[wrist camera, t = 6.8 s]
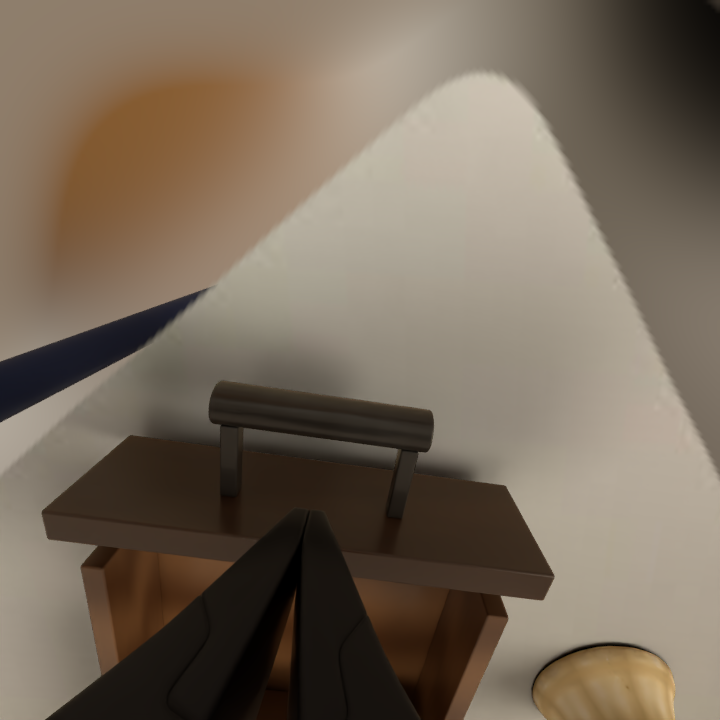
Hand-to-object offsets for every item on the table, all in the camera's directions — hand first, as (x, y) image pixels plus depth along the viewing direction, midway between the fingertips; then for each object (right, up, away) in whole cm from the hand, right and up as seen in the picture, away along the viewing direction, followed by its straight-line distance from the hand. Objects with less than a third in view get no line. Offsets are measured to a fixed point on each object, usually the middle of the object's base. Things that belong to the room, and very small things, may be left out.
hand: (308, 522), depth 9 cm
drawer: (-1, -5, +8) cm, 9 cm away
